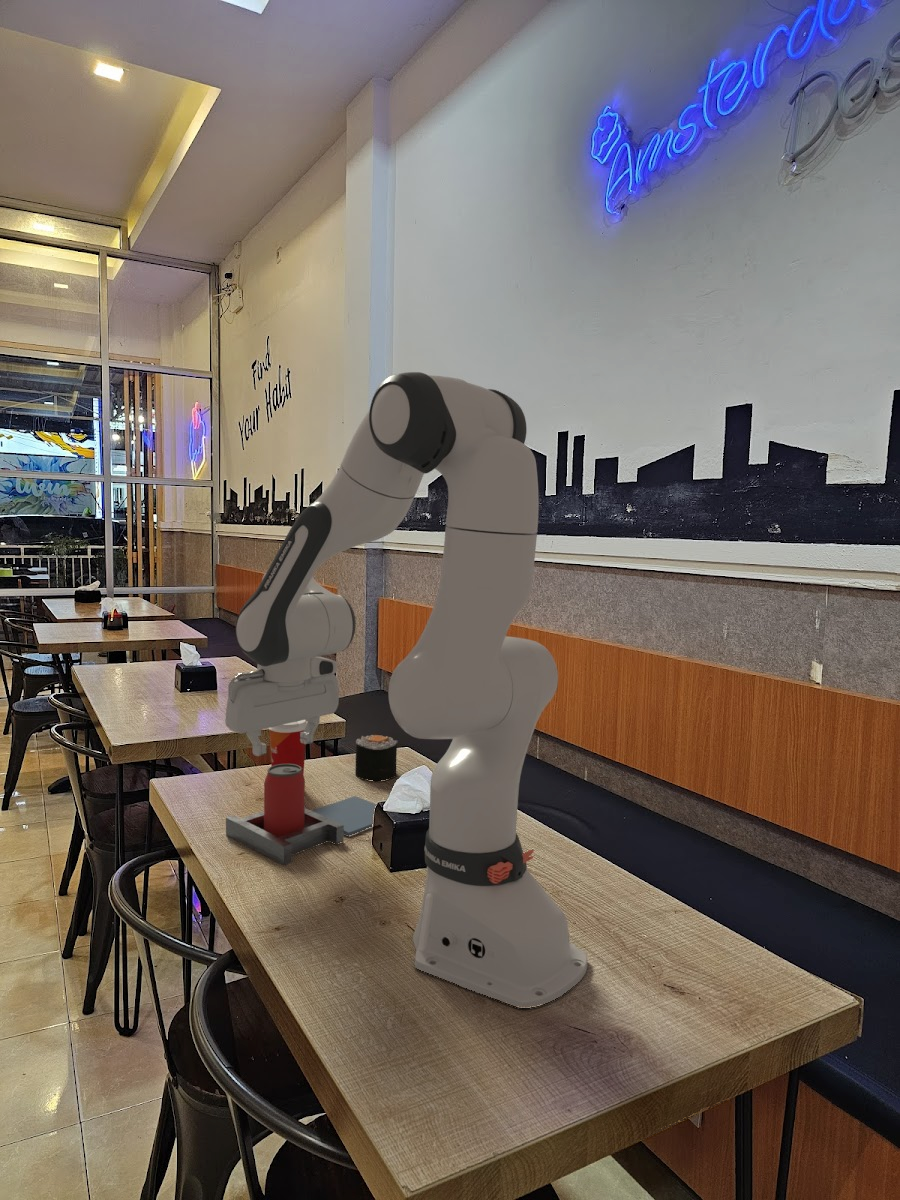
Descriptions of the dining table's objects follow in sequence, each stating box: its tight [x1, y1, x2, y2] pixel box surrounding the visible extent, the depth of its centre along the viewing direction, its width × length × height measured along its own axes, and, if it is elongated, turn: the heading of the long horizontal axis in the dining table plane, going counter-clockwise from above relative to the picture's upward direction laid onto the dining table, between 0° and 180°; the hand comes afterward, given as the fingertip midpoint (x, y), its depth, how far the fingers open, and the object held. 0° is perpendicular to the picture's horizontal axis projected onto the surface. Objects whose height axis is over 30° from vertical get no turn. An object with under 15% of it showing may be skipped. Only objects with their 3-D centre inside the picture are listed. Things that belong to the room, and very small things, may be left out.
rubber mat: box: [310, 795, 378, 836], centre depth 139 cm, size 12×12×1 cm
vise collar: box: [225, 807, 345, 866], centre depth 129 cm, size 16×12×3 cm
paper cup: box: [267, 720, 307, 775], centre depth 151 cm, size 8×8×14 cm
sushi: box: [355, 734, 398, 782], centre depth 161 cm, size 8×8×8 cm
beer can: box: [263, 764, 306, 837], centre depth 128 cm, size 7×7×12 cm
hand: (283, 748), depth 128 cm, fingers open, 8 cm apart
